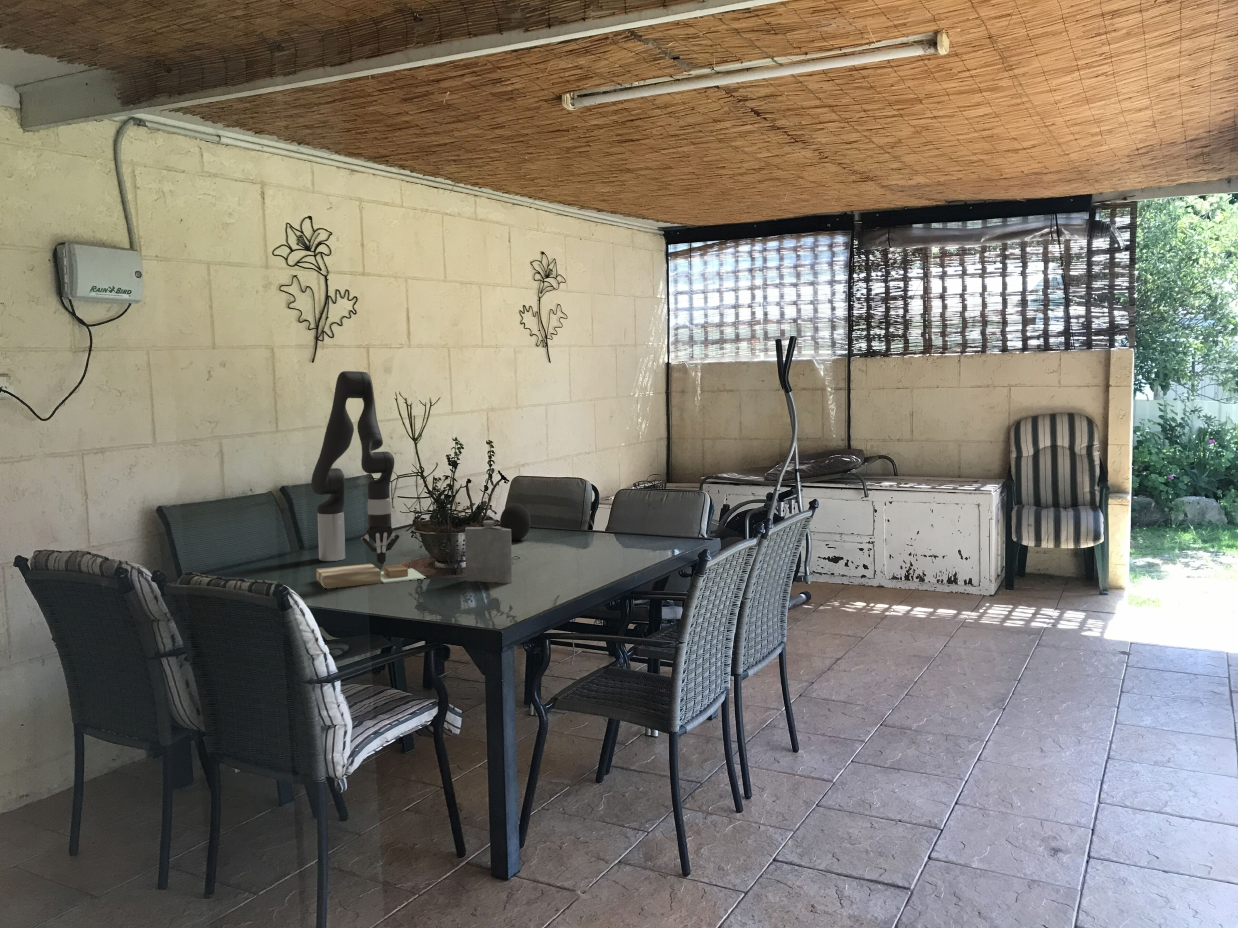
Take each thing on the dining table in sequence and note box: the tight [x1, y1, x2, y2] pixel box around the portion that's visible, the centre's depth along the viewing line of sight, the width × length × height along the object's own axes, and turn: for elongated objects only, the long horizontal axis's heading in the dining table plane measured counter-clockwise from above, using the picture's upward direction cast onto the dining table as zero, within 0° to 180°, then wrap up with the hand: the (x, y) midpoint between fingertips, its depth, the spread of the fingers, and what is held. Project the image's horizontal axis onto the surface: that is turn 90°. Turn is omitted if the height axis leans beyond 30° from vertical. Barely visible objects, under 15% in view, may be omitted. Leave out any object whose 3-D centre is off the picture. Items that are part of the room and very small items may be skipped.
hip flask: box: [464, 520, 513, 584], centre depth 322 cm, size 16×4×20 cm, turn 75°
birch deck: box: [315, 563, 382, 589], centre depth 323 cm, size 13×18×4 cm
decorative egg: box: [499, 503, 532, 542], centre depth 396 cm, size 12×12×15 cm
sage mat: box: [381, 567, 427, 584], centre depth 331 cm, size 16×14×1 cm
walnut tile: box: [383, 564, 409, 578], centre depth 330 cm, size 8×6×2 cm
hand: (380, 563), depth 327 cm, fingers closed
